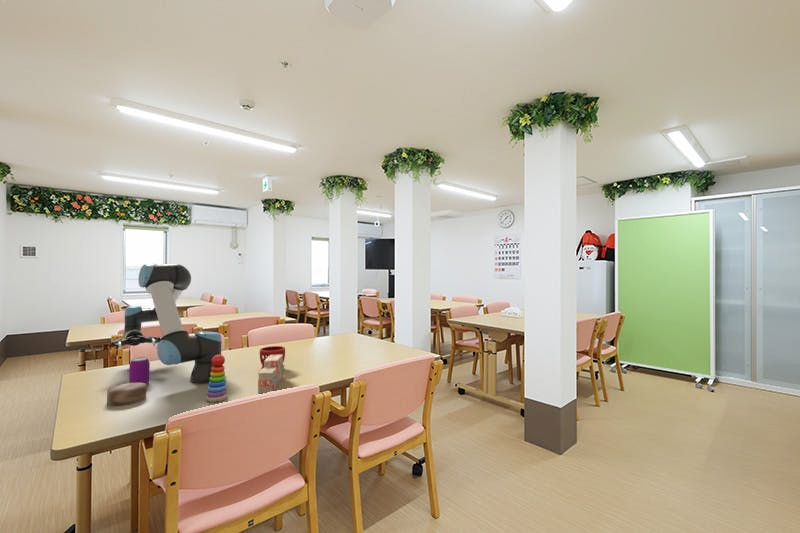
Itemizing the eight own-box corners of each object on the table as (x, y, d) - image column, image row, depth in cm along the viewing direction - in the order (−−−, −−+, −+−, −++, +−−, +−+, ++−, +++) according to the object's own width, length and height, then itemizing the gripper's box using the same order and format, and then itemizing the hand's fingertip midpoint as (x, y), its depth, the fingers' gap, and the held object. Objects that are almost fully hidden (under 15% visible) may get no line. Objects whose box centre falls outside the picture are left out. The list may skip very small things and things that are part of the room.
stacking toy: (218, 403, 146) (219, 357, 146) (201, 401, 148) (202, 356, 148) (231, 396, 154) (231, 353, 154) (215, 395, 155) (215, 352, 155)
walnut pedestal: (153, 394, 155) (153, 383, 155) (128, 406, 142) (128, 393, 142) (125, 393, 156) (125, 381, 156) (98, 404, 143) (98, 392, 143)
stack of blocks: (272, 393, 159) (272, 365, 159) (257, 393, 158) (258, 366, 158) (282, 378, 180) (283, 353, 180) (270, 378, 179) (270, 354, 179)
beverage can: (134, 382, 170) (134, 357, 170) (152, 381, 172) (152, 356, 172) (125, 387, 163) (126, 361, 163) (144, 386, 164) (144, 360, 164)
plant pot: (289, 367, 199) (289, 345, 199) (277, 374, 186) (277, 351, 186) (267, 365, 201) (268, 344, 201) (254, 372, 188) (254, 350, 188)
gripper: (161, 341, 199) (167, 349, 183) (103, 347, 183) (104, 356, 167) (162, 328, 199) (167, 334, 183) (104, 333, 183) (104, 340, 167)
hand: (137, 345), depth 175 cm, fingers open, 13 cm apart
